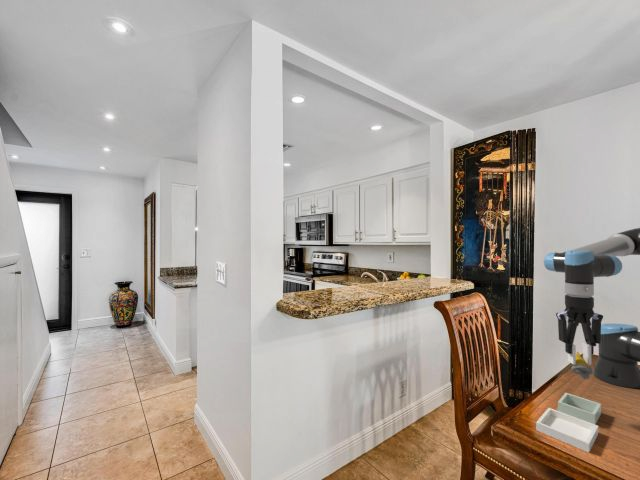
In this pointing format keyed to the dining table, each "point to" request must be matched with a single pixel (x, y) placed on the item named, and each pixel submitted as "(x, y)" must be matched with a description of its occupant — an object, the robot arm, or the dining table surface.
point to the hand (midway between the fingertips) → (579, 362)
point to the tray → (568, 429)
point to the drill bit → (581, 367)
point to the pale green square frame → (577, 412)
